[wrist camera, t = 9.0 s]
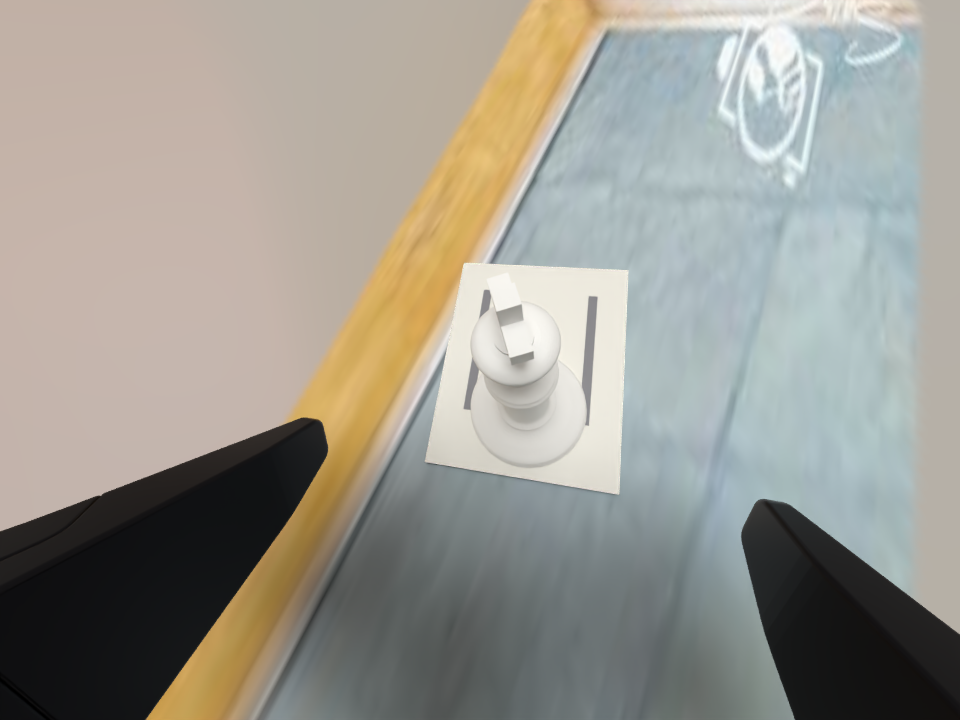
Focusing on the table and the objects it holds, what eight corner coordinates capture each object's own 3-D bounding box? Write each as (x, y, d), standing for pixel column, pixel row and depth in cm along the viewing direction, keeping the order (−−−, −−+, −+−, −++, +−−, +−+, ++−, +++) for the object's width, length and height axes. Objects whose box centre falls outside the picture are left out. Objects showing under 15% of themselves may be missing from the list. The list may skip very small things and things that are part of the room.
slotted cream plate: (617, 494, 14) (619, 494, 14) (427, 462, 16) (424, 461, 15) (626, 274, 17) (628, 270, 17) (465, 267, 19) (463, 262, 18)
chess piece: (564, 341, 16) (597, 147, 7) (603, 450, 14) (724, 395, 5) (460, 371, 16) (351, 227, 7) (486, 481, 15) (389, 485, 5)
